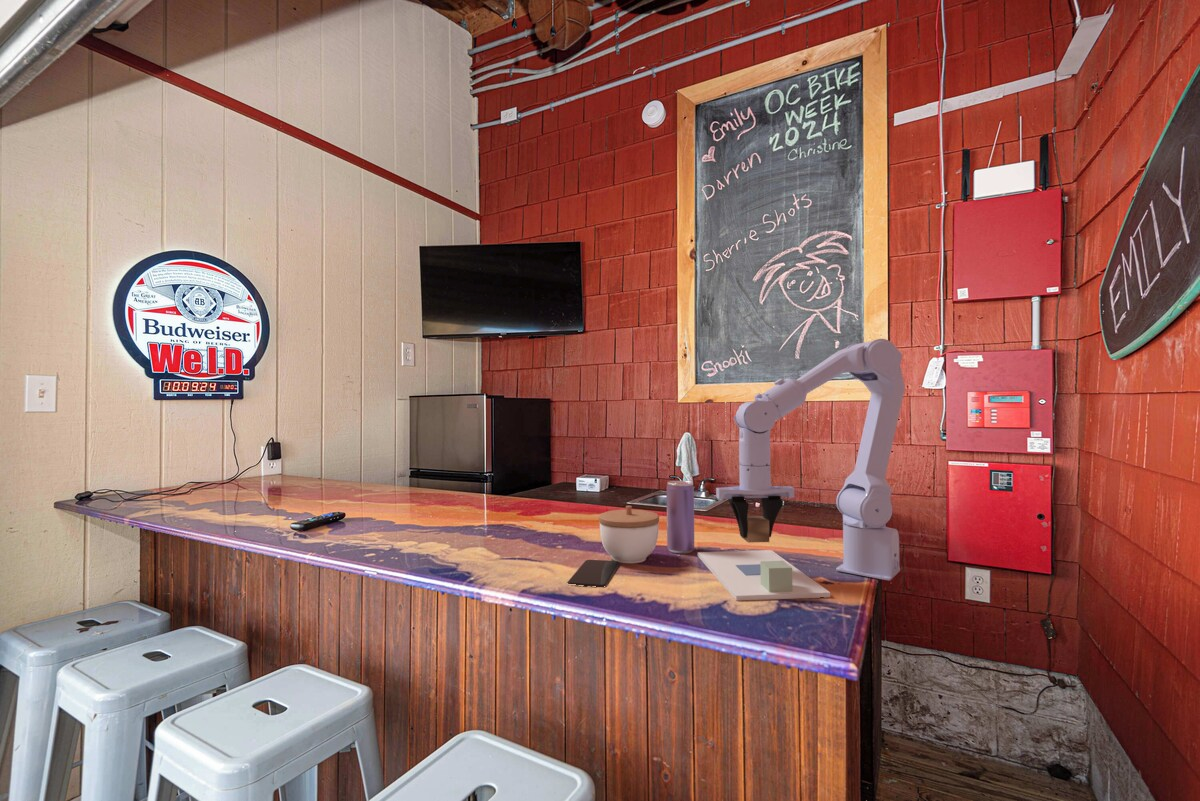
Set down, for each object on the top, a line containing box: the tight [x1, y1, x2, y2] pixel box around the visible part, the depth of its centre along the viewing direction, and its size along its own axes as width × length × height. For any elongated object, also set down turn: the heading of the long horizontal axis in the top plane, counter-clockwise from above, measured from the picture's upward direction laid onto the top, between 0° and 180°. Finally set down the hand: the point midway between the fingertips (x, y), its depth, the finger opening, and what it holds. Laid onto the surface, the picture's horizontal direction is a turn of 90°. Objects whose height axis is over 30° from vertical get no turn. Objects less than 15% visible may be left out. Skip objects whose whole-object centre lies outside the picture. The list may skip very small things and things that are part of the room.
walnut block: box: [740, 515, 770, 543], centre depth 104 cm, size 4×4×4 cm
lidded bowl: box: [598, 505, 660, 565], centre depth 115 cm, size 13×13×11 cm
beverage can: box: [666, 480, 695, 555], centre depth 121 cm, size 6×6×15 cm
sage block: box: [760, 561, 792, 592], centre depth 94 cm, size 4×4×4 cm
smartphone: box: [566, 559, 621, 588], centre depth 105 cm, size 7×1×15 cm
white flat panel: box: [697, 549, 831, 601], centre depth 104 cm, size 16×26×1 cm, turn 4°
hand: (755, 536), depth 104 cm, fingers closed on walnut block, 4 cm apart
